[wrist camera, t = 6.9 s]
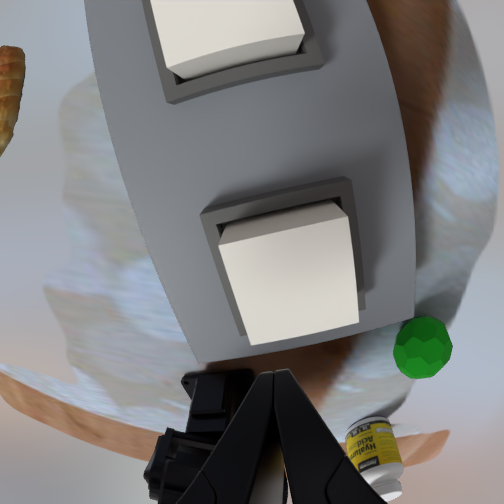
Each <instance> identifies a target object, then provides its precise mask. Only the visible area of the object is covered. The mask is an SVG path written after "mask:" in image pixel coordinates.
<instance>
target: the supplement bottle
mask: <svg viewBox="0 0 504 504" xmlns="http://www.w3.org/2000/svg"><path fill="white" fill-rule="evenodd" d="M345 439H346V445H347V451H348V456H349V459H350V460H351V462H352V463H353V464H354V466H355V467H356V468H357V470H358V471H359V472H360V474H361V475H362V476H363V478H364V479H365V480H366V481H367V482H368V484H369V485H370V486H371V487H372V488H373V489H374V490H375V491H376V492H377V493H378V494H379V495H380V496H381V497H382V498H383V499H384V500H385V501H386V502H387V501H390V500H392V499H394V498H396V497H398V496H399V495H401V494H402V487H401V483H400V482H399V481H397V479H398V478H399V477H400V476H401V475H402V473H403V464H402V460H401V457H400V454H399V450H398V447H397V444H396V440H395V437H394V434H393V431H392V428H391V425H390V422H389V420H388V419H387V418H384V417H370V418H366V419H363V420H361V421H359V422H357V423H355V424H354V425H352V426H351V427H350V428H349V429H348V430H347V431H346V434H345Z"/></svg>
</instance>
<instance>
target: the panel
mask: <svg viewBox="0 0 504 504" xmlns="http://www.w3.org/2000/svg"><path fill="white" fill-rule="evenodd" d="M84 2H85V11H86V18H87V26H88V32H89V39H90V45H91V51H92V56H93V62H94V68H95V73H96V78H97V82H98V87H99V91H100V96H101V100H102V105H103V109H104V113H105V117H106V121H107V125H108V128H109V132H110V136H111V140H112V143H113V147H114V150H115V154H116V157H117V161H118V164H119V167H120V171H121V174H122V177H123V180H124V183H125V186H126V189H127V193H128V196H129V199H130V202H131V204H132V207H133V210H134V213H135V216H136V219H137V222H138V224H139V227H140V230H141V233H142V235H143V238H144V241H145V243H146V246H147V249H148V251H149V254H150V256H151V259H152V261H153V264H154V266H155V269H156V271H157V274H158V276H159V279H160V281H161V283H162V286H163V288H164V291H165V293H166V295H167V298H168V300H169V302H170V304H171V307H172V309H173V311H174V313H175V316H176V318H177V320H178V322H179V324H180V326H181V329H182V331H183V333H184V335H185V337H186V339H187V341H188V343H189V345H190V347H191V350H192V352H193V354H194V356H195V358H196V360H197V362H198V363H205V362H213V361H221V360H228V359H235V358H241V357H248V356H254V355H260V354H266V353H271V352H277V351H282V350H287V349H293V348H298V347H302V346H307V345H312V344H316V343H321V342H325V341H330V340H334V339H338V338H342V337H346V336H350V335H354V334H358V333H362V332H366V331H369V330H373V329H377V328H380V327H384V326H387V325H390V324H394V323H397V322H401V321H404V320H407V319H410V318H413V317H414V309H415V287H416V241H415V218H414V204H413V193H412V183H411V174H410V166H409V159H408V152H407V145H406V139H405V134H404V128H403V123H402V118H401V113H400V108H399V104H398V99H397V95H396V91H395V87H394V83H393V79H392V75H391V72H390V68H389V64H388V61H387V58H386V54H385V51H384V48H383V45H382V42H381V39H380V36H379V33H378V30H377V27H376V25H375V22H374V19H373V16H372V14H371V11H370V9H369V6H368V4H367V1H366V0H293V2H294V4H295V7H296V10H297V12H298V15H299V18H300V21H301V24H302V27H303V29H304V32H305V34H304V36H303V39H302V41H301V43H300V45H299V47H298V50H297V52H296V54H293V55H287V56H281V57H276V58H271V59H266V60H261V61H256V62H252V63H248V64H243V65H239V66H235V67H232V68H228V69H224V70H220V71H217V72H213V73H210V74H207V75H203V76H200V77H197V78H194V79H191V80H188V81H186V80H185V79H183V78H182V77H180V76H179V75H177V74H176V73H174V72H172V71H171V70H169V69H168V68H167V67H166V63H165V59H164V55H163V51H162V47H161V43H160V39H159V35H158V31H157V27H156V22H155V18H154V14H153V10H152V5H151V1H150V0H84ZM327 199H331V200H332V201H333V202H334V203H335V204H336V205H337V206H338V207H339V208H340V209H341V210H342V211H343V212H344V213H345V214H346V215H347V216H348V220H349V227H350V234H351V242H352V250H353V258H354V268H355V277H356V288H357V300H358V314H359V322H358V323H355V324H351V325H347V326H343V327H339V328H334V329H330V330H326V331H321V332H317V333H313V334H308V335H303V336H298V337H294V338H289V339H284V340H278V341H273V342H268V343H262V344H257V345H251V343H250V341H249V338H248V335H247V332H246V329H245V326H244V323H243V320H242V317H241V314H240V311H239V308H238V305H237V302H236V299H235V296H234V293H233V290H232V287H231V284H230V281H229V278H228V275H227V272H226V269H225V265H224V262H223V259H222V256H221V253H220V250H219V247H218V245H219V242H220V240H221V237H222V234H223V231H224V229H225V226H226V223H227V222H231V221H235V220H239V219H243V218H247V217H251V216H256V215H260V214H264V213H268V212H273V211H277V210H281V209H286V208H290V207H295V206H299V205H304V204H308V203H313V202H318V201H322V200H327Z"/></svg>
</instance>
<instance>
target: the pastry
mask: <svg viewBox="0 0 504 504" xmlns="http://www.w3.org/2000/svg"><path fill="white" fill-rule="evenodd" d="M25 68H26V67H25V54H24V52H23V50H22V49H21V48H18V47H11V46H1V47H0V157H1V155H2V153H3V152H4V150H5V149H6V147H7V145H8V144H9V142H10V141H11V139H12V137H13V129H14V126H15V123H16V122H17V119H18V113H19V109H20V101H21V97H22V95H23V94H22V89H23V86H24V79H25Z"/></svg>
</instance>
